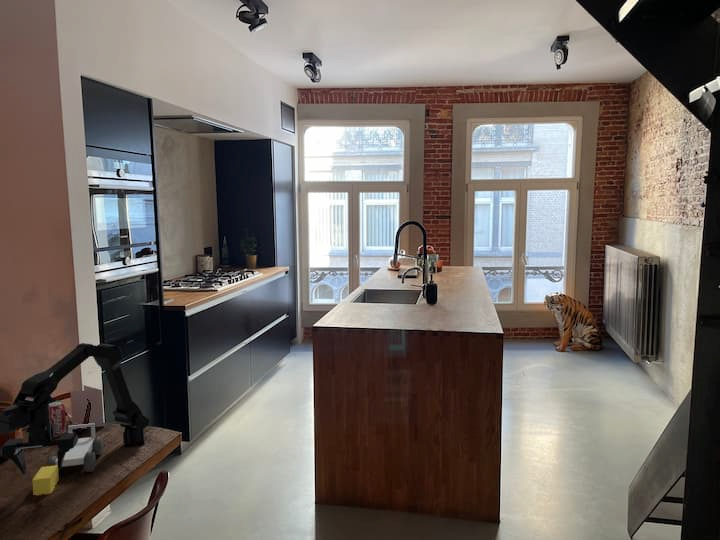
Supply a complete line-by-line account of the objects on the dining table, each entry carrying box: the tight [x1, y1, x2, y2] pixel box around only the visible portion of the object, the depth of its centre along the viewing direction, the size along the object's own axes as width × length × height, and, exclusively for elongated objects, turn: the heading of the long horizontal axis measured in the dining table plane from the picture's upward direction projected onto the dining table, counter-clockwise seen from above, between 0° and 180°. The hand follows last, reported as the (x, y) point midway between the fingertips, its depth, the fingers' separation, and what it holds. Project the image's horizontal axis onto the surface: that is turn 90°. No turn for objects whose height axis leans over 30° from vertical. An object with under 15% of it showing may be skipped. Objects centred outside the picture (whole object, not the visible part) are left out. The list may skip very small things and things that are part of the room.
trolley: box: [46, 423, 104, 473], centre depth 167 cm, size 18×12×10 cm
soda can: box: [49, 400, 67, 438], centre depth 191 cm, size 7×7×12 cm
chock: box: [31, 465, 60, 496], centre depth 153 cm, size 4×8×5 cm, turn 15°
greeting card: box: [70, 385, 105, 427], centre depth 197 cm, size 11×7×15 cm, turn 61°
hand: (42, 471), depth 151 cm, fingers open, 9 cm apart
